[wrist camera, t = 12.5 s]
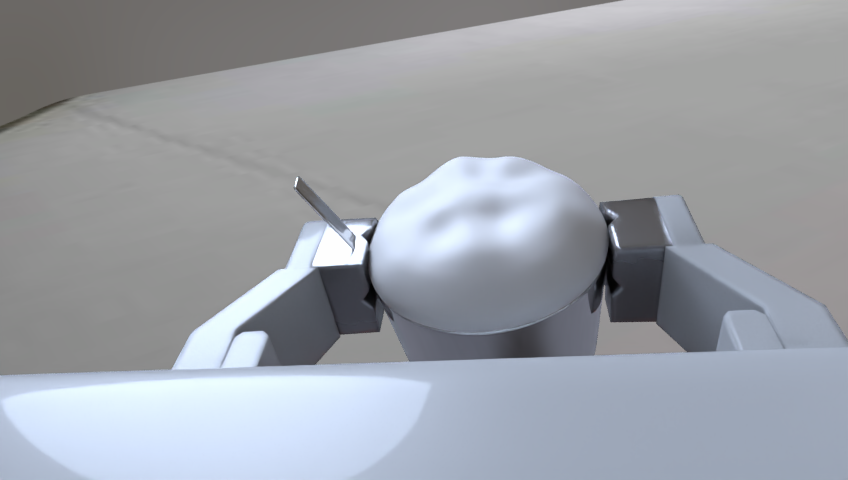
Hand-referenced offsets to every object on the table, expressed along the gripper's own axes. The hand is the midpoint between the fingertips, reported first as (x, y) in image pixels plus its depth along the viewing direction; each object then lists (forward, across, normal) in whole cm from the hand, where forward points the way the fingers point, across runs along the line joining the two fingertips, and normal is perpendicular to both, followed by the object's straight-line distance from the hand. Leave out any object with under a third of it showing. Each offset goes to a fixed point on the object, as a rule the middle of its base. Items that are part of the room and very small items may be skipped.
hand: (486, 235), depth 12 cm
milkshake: (-1, 0, +8) cm, 8 cm away
